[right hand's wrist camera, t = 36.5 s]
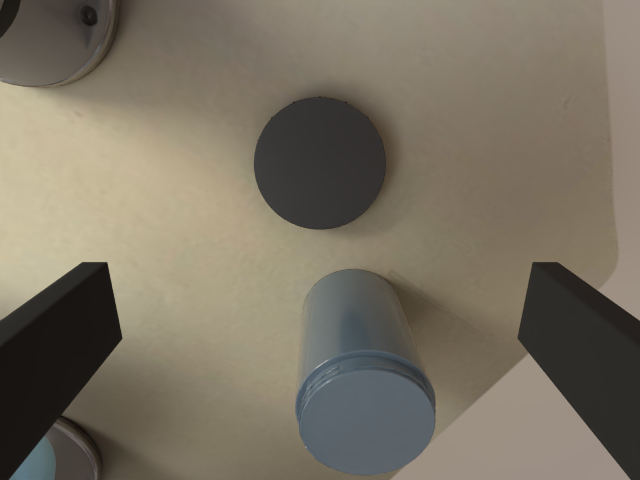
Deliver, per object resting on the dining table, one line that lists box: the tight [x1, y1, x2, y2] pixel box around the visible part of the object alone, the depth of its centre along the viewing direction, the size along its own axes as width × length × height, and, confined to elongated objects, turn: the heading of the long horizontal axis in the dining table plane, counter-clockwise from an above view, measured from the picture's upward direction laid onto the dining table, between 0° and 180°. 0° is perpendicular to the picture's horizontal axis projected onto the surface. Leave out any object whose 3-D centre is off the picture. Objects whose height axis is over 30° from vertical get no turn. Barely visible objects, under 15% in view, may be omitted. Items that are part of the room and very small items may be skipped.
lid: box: [254, 96, 386, 229], centre depth 36 cm, size 12×12×2 cm
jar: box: [295, 269, 436, 475], centre depth 35 cm, size 10×10×15 cm
